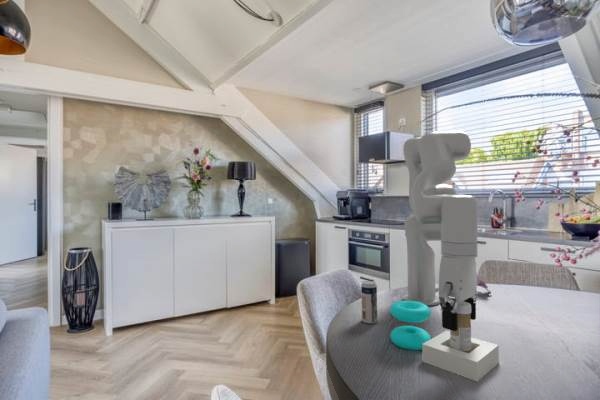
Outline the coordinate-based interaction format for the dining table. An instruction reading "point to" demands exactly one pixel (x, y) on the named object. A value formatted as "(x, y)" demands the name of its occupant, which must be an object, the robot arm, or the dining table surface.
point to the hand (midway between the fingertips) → (459, 323)
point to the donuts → (410, 334)
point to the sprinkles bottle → (462, 328)
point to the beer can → (369, 302)
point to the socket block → (461, 356)
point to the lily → (482, 283)
